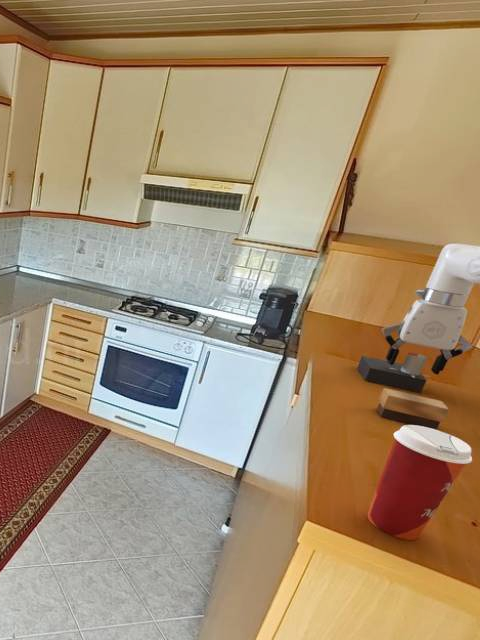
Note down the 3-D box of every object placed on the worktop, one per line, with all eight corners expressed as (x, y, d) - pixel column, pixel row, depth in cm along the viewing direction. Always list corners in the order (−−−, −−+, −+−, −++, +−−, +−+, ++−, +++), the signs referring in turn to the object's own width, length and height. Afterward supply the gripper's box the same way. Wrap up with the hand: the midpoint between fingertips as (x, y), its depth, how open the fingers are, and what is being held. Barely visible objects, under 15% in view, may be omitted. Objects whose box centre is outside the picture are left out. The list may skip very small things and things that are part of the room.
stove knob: (417, 372, 120) (425, 354, 119) (421, 376, 117) (429, 358, 116) (398, 368, 122) (406, 350, 120) (402, 372, 119) (410, 354, 117)
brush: (431, 422, 101) (441, 401, 99) (438, 431, 97) (449, 409, 96) (374, 408, 105) (383, 387, 104) (379, 416, 102) (388, 395, 100)
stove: (415, 380, 125) (421, 367, 124) (428, 395, 116) (435, 381, 115) (357, 367, 131) (362, 355, 129) (365, 381, 121) (370, 367, 120)
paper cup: (440, 553, 63) (491, 460, 58) (369, 534, 65) (413, 443, 60) (412, 516, 69) (456, 431, 64) (349, 500, 72) (387, 417, 67)
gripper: (400, 293, 113) (371, 363, 120) (500, 309, 106) (463, 382, 112) (392, 288, 120) (365, 354, 126) (486, 303, 112) (452, 372, 118)
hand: (411, 367), depth 119 cm, fingers open, 8 cm apart
